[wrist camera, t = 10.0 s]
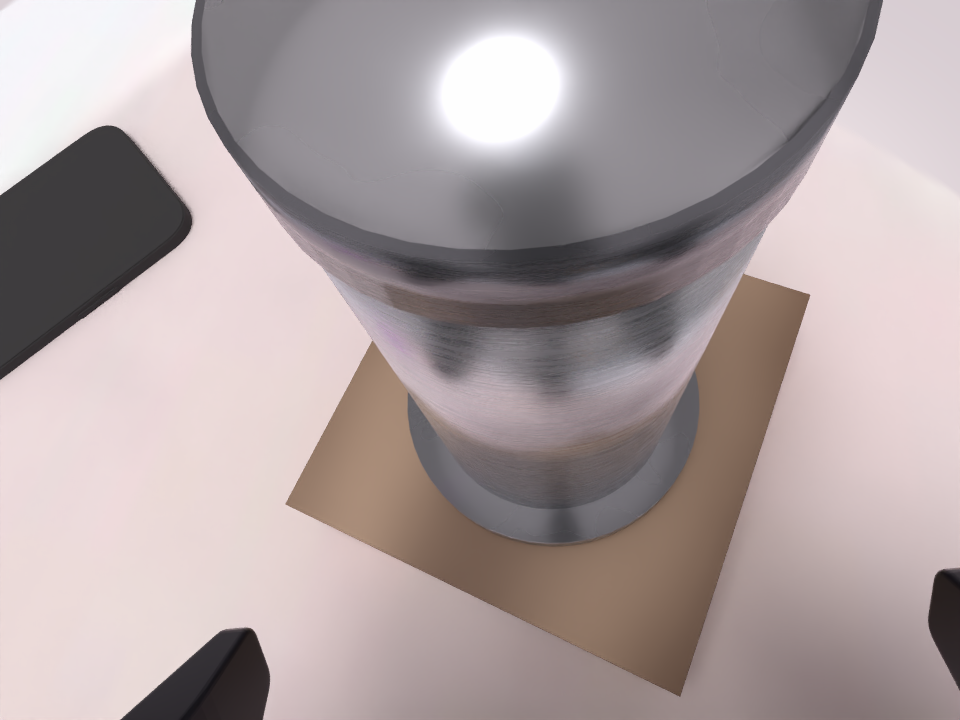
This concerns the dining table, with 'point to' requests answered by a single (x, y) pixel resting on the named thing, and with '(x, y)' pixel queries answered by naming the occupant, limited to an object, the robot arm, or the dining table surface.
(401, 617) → the dining table surface
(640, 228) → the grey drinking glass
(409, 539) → the stand
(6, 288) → the phone
